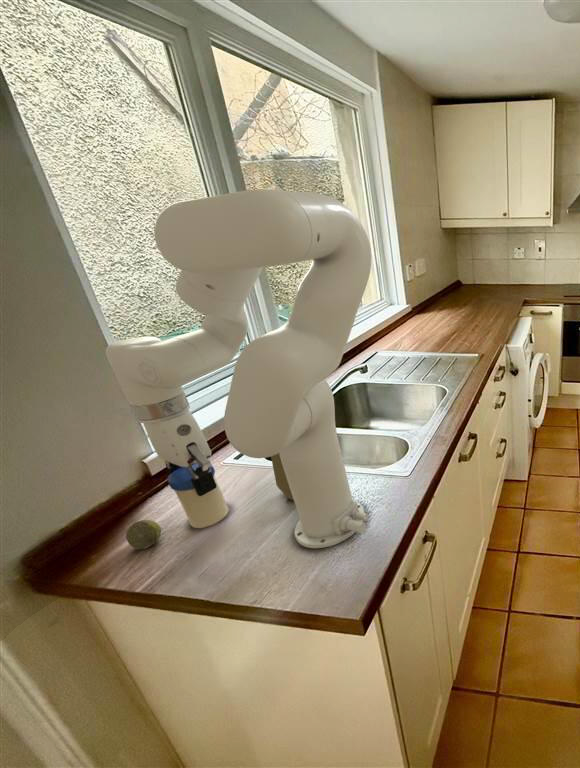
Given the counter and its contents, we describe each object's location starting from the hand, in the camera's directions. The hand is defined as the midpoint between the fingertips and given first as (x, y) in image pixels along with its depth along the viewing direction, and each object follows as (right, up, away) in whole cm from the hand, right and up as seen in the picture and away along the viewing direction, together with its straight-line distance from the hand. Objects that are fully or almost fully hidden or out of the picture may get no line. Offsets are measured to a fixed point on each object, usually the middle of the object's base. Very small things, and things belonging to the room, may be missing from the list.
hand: (196, 486), depth 77 cm
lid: (0, +3, -1) cm, 3 cm away
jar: (0, -7, +3) cm, 8 cm away
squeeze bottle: (+16, -4, +10) cm, 19 cm away
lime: (-6, -10, -3) cm, 12 cm away
